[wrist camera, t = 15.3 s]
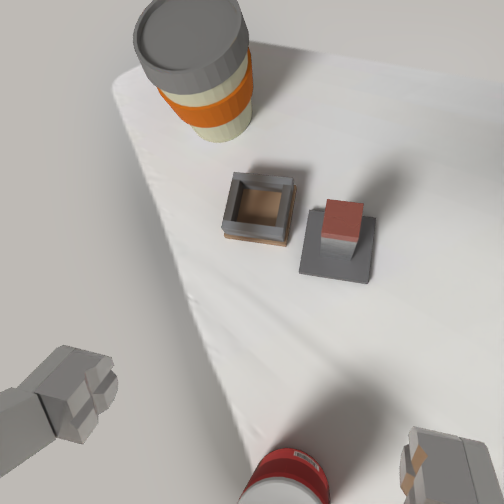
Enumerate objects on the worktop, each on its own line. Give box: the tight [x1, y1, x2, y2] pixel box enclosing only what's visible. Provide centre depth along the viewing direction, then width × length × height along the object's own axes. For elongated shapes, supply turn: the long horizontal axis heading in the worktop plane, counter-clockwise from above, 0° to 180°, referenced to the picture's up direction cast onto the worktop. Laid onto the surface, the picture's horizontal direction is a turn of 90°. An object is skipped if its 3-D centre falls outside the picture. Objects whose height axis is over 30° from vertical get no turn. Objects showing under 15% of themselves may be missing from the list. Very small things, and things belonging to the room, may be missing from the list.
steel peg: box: [321, 199, 364, 261], centre depth 39 cm, size 4×4×9 cm
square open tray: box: [221, 172, 297, 247], centre depth 46 cm, size 8×8×4 cm
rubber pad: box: [299, 210, 376, 284], centre depth 44 cm, size 8×8×1 cm
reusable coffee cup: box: [133, 0, 253, 143], centre depth 45 cm, size 13×13×15 cm
